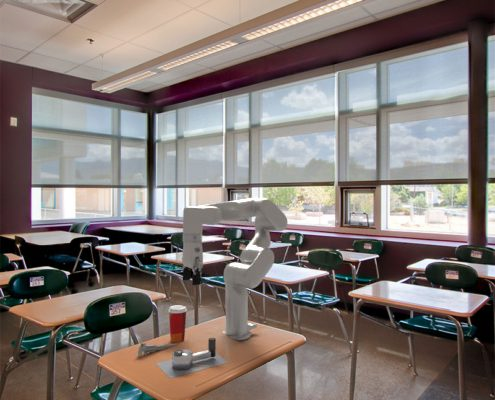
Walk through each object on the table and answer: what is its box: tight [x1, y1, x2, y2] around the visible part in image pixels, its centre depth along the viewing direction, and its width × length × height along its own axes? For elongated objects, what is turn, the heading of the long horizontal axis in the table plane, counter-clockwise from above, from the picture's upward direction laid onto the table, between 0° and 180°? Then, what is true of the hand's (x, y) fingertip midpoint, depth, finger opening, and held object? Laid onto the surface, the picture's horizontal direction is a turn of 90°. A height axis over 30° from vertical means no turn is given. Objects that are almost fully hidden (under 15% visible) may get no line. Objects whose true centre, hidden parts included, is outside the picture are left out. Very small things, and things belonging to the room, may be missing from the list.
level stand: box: [155, 352, 229, 379], centre depth 132 cm, size 22×13×2 cm, turn 123°
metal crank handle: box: [171, 337, 217, 370], centre depth 132 cm, size 16×7×7 cm, turn 123°
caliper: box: [137, 342, 178, 358], centre depth 144 cm, size 20×1×6 cm, turn 136°
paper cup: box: [167, 304, 188, 344], centre depth 156 cm, size 8×8×14 cm
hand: (191, 282), depth 145 cm, fingers open, 9 cm apart
